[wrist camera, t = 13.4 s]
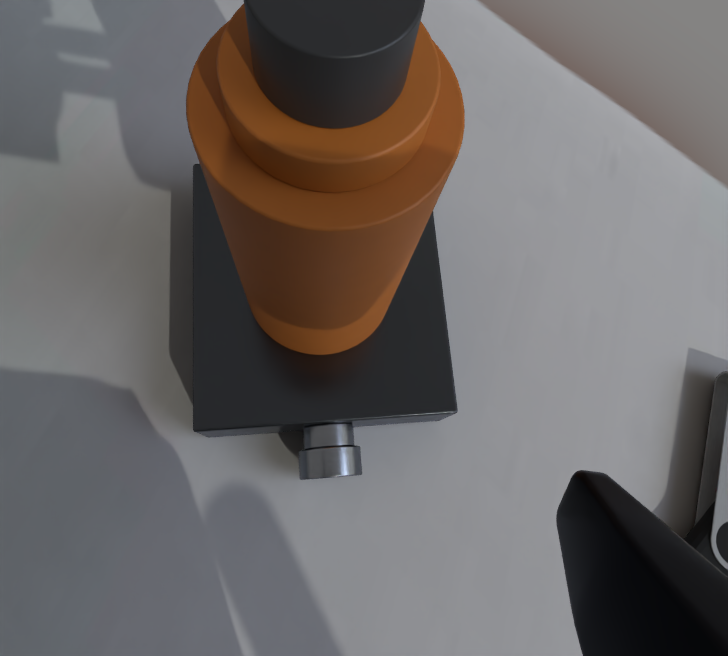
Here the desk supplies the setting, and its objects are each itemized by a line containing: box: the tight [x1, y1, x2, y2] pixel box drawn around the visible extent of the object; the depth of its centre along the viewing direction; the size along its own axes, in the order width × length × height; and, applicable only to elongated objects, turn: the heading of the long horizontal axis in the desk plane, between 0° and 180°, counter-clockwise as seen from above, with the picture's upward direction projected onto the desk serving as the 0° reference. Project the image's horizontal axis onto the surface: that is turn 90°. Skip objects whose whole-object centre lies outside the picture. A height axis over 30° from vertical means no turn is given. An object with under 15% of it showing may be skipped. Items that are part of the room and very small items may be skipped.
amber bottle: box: [186, 0, 464, 355], centre depth 14 cm, size 5×5×13 cm
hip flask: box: [193, 164, 458, 480], centre depth 21 cm, size 12×9×3 cm
